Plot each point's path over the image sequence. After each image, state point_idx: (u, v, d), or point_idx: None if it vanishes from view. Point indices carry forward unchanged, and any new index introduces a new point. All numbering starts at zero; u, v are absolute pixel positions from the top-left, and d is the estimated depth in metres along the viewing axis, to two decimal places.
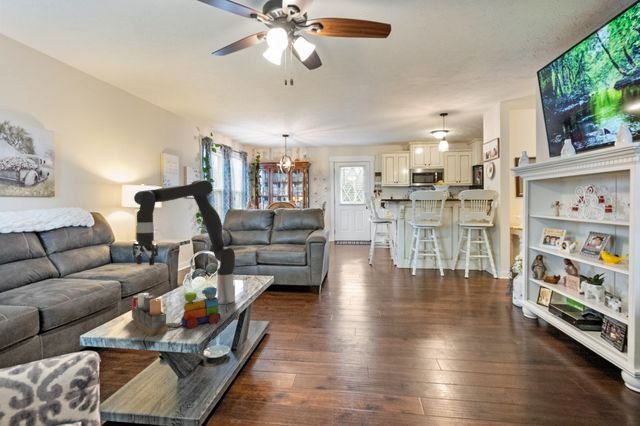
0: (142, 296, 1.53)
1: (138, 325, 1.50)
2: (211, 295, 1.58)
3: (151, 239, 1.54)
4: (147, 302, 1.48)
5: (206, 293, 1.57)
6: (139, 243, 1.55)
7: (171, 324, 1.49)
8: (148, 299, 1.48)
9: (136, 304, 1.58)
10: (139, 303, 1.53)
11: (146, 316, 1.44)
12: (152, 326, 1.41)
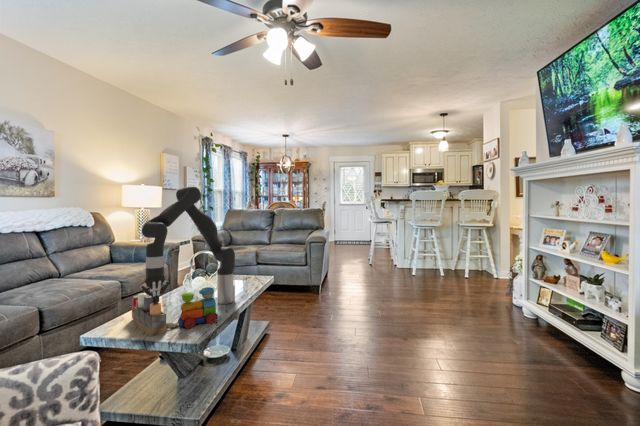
0: (142, 296, 1.53)
1: (138, 325, 1.50)
2: (208, 295, 1.57)
3: None
4: (147, 302, 1.48)
5: (203, 293, 1.57)
6: (148, 279, 1.41)
7: (168, 324, 1.49)
8: (148, 299, 1.48)
9: (136, 304, 1.58)
10: (139, 303, 1.53)
11: (146, 316, 1.44)
12: (152, 326, 1.41)
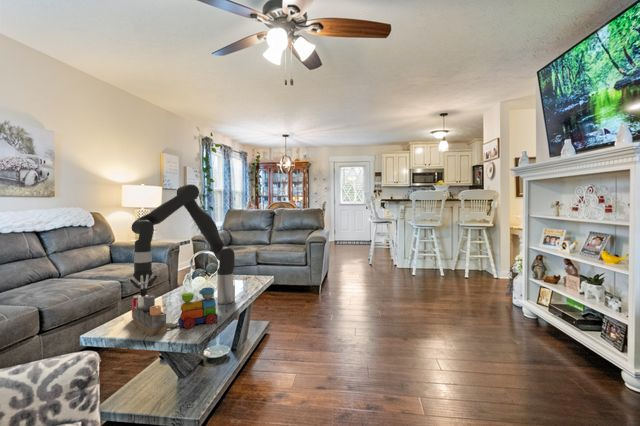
0: (142, 298, 1.53)
1: (138, 325, 1.50)
2: (208, 295, 1.57)
3: None
4: (147, 302, 1.48)
5: (203, 293, 1.56)
6: (136, 273, 1.51)
7: (168, 324, 1.49)
8: (148, 299, 1.48)
9: (136, 304, 1.58)
10: (139, 305, 1.53)
11: (146, 316, 1.44)
12: (152, 326, 1.41)
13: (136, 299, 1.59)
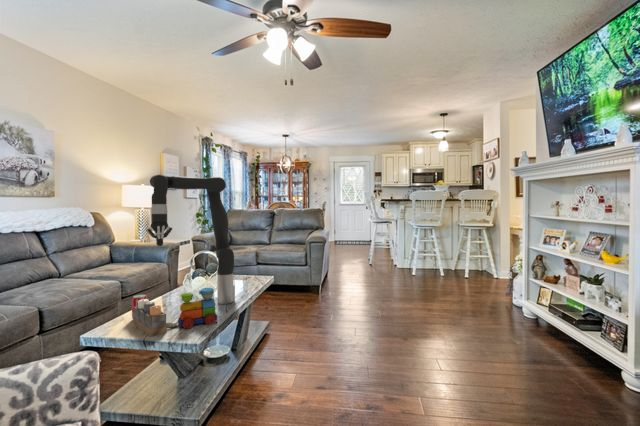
0: (142, 302, 1.53)
1: (138, 325, 1.50)
2: (208, 296, 1.56)
3: None
4: (147, 309, 1.48)
5: (203, 294, 1.56)
6: (153, 224, 1.63)
7: (167, 324, 1.49)
8: (148, 306, 1.48)
9: (136, 304, 1.58)
10: None
11: (146, 316, 1.44)
12: (152, 326, 1.41)
13: (136, 299, 1.59)
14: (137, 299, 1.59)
